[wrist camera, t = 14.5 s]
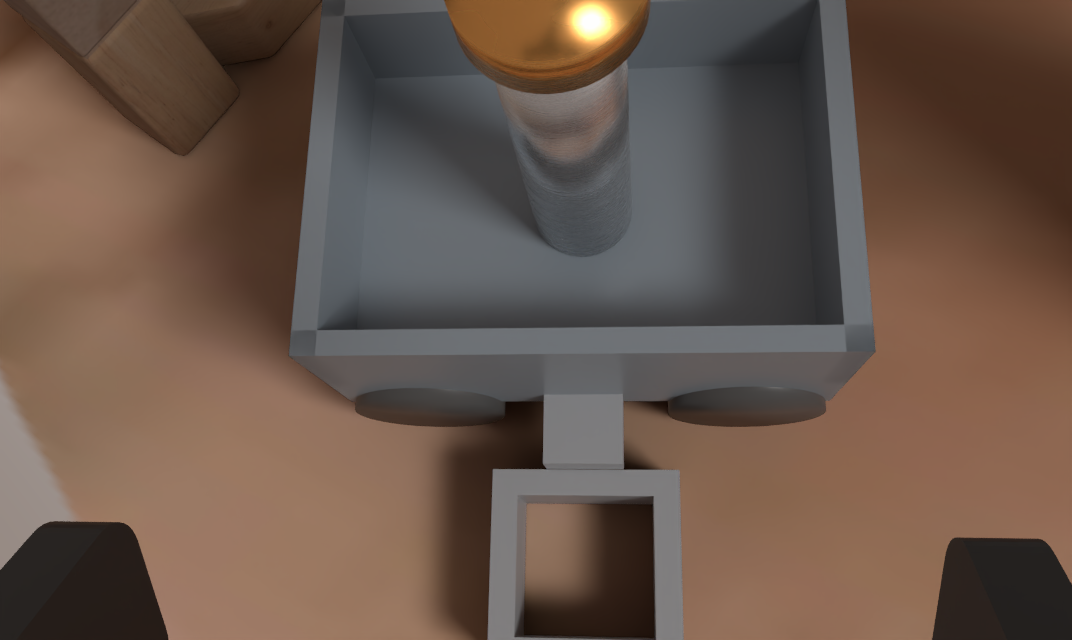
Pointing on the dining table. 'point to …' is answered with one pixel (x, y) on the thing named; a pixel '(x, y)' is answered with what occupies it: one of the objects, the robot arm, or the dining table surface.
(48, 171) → the dining table surface
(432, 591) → the dining table surface
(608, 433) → the grey tray with sleeve
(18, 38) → the dining table surface
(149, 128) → the brown wooden stand
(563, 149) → the pin
